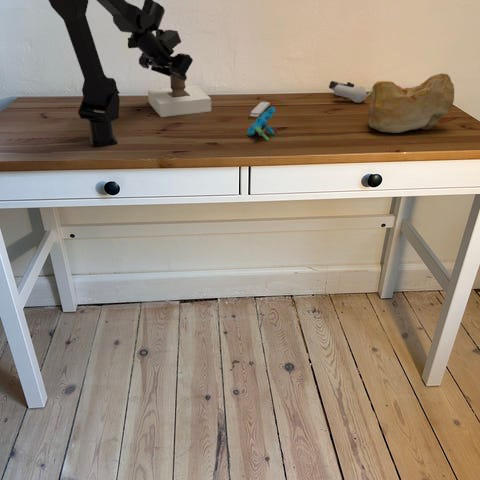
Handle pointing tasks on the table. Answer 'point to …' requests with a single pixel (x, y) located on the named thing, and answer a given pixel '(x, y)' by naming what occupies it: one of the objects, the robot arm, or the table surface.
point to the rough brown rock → (410, 104)
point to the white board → (179, 101)
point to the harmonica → (259, 110)
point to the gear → (262, 124)
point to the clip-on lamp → (349, 91)
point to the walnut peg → (177, 86)
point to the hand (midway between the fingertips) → (180, 78)
